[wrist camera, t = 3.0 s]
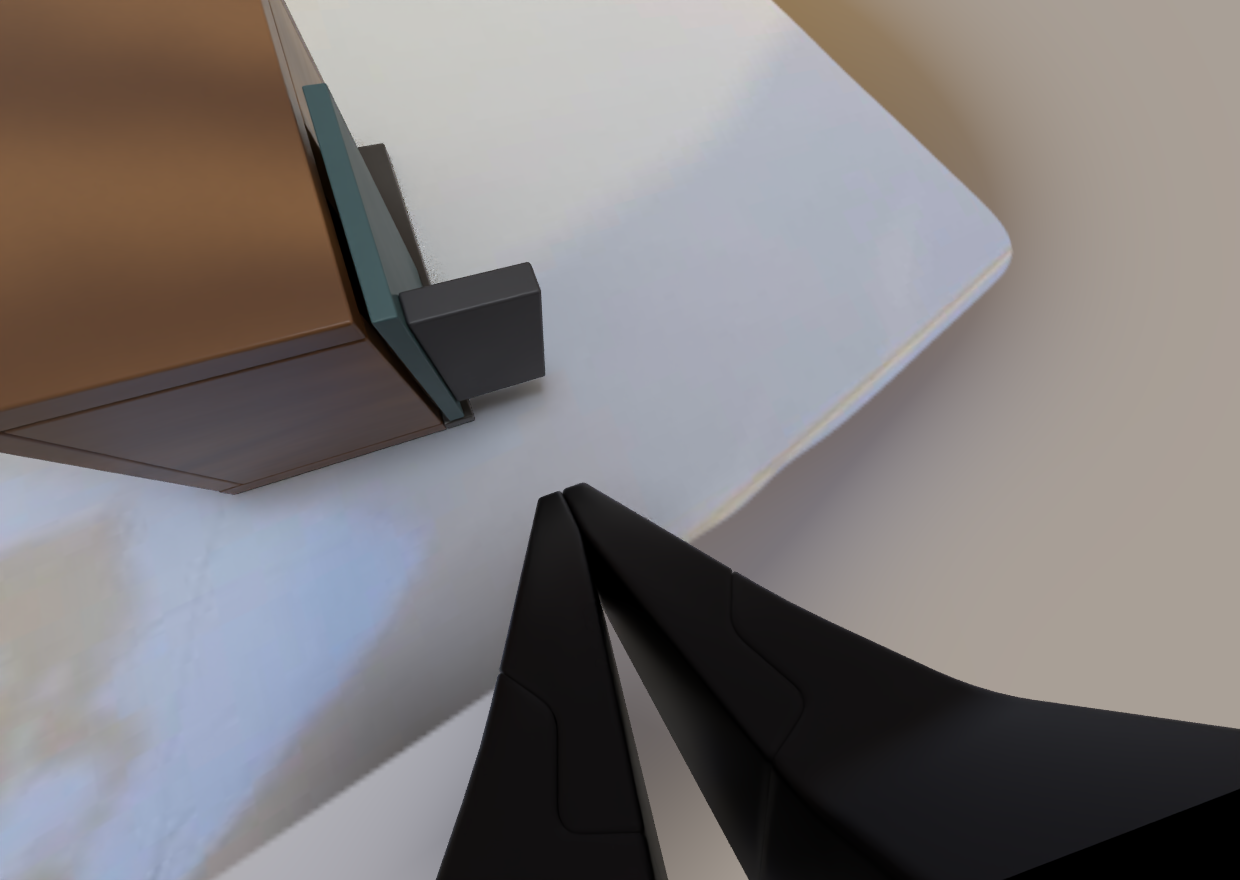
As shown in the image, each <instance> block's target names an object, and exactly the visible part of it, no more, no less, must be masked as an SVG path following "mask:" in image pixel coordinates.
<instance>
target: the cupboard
mask: <svg viewBox="0 0 1240 880" xmlns="http://www.w3.org/2000/svg"><path fill="white" fill-rule="evenodd" d="M320 83H324V81H323V78H322V76H321V74H320V72H319V70H318V68H317V66H316V64H315V62H314V60H313V58H312V56H311V54H310V52H309V50H308V48H307V46H306V44H305V42H304V40H303V38H302V36H301V34H300V32H299V30H298V28H297V25H296V23H295V21H294V19H293V17H292V15H291V13H290V11H289V9H288V7H287V5H286V3H285V1H284V0H0V453H6V454H12V455H17V456H23V457H28V458H34V459H40V460H45V461H51V462H57V463H62V464H68V465H73V466H79V467H85V468H90V469H96V470H101V471H107V472H113V473H118V474H124V475H130V476H135V477H141V478H146V479H152V480H158V481H163V482H169V483H175V484H180V485H186V486H191V487H197V488H203V489H208V490H214V491H219V492H222V493H228V494H237V493H241V492H244V491H247V490H250V489H254V488H257V487H260V486H263V485H267V484H270V483H273V482H276V481H279V480H283V479H286V478H289V477H292V476H296V475H299V474H302V473H305V472H309V471H312V470H315V469H318V468H322V467H325V466H328V465H331V464H334V463H338V462H341V461H344V460H347V459H351V458H354V457H357V456H360V455H364V454H367V453H370V452H373V451H377V450H380V449H383V448H386V447H390V446H393V445H396V444H399V443H402V442H406V441H409V440H412V439H415V438H419V437H422V436H425V435H428V434H432V433H435V432H438V431H441V430H445V429H446V428H450V427H454V426H457V425H460V424H463V423H467V422H470V421H473V420H475V417H474V414H473V411H472V408H471V405H470V402H469V399H466V400H462V401H460V404H461V407H462V410H463V413H464V417H462V418H458V419H455V420H452V421H450V420H449V419H448V418H447V417H446V415H445V414H444V413H443V412H442V410H441V409H440V408H439V407H438V405H437V404H436V403H435V402H434V400H433V399H432V398H431V397H430V395H429V394H428V393H427V392H426V390H425V389H424V388H423V387H422V385H421V384H420V383H419V382H418V380H417V379H416V378H415V377H414V375H413V374H412V373H411V372H410V370H409V369H408V368H407V367H406V365H405V364H404V363H403V362H402V360H401V359H400V358H399V357H398V355H397V354H396V353H395V352H394V350H393V349H392V348H391V347H390V345H389V344H388V343H387V342H386V340H385V339H384V338H383V337H382V335H381V334H380V333H379V332H378V330H377V329H376V328H375V327H374V326H373V324H372V323H371V320H370V317H369V313H368V310H367V307H366V303H365V300H364V296H363V293H362V290H361V286H360V283H359V279H358V276H357V273H356V269H355V266H354V262H353V259H352V256H351V252H350V249H349V246H348V242H347V239H346V235H345V232H344V229H343V225H342V222H341V218H340V215H339V212H338V208H337V205H336V202H335V198H334V195H333V191H332V188H331V185H330V181H329V178H328V174H327V171H326V168H325V164H324V161H323V157H322V154H321V151H320V147H319V144H318V141H317V137H316V134H315V130H314V127H313V124H312V120H311V117H310V113H309V110H308V107H307V103H306V100H305V96H304V93H303V90H302V86H305V85H313V84H320ZM358 150H359V152H360V154H361V156H362V158H363V160H364V162H365V164H366V166H367V168H368V170H369V172H370V174H371V176H372V178H373V180H374V182H375V185H376V187H377V189H378V191H379V193H380V195H381V197H382V199H383V201H384V203H385V205H386V207H387V209H388V211H389V213H390V215H391V217H392V219H393V221H394V223H395V225H396V228H397V230H398V232H399V234H400V236H401V238H402V240H403V242H404V244H405V246H406V248H407V250H408V252H409V254H410V256H411V258H412V260H413V262H414V264H415V266H416V269H417V271H418V274H419V277H420V280H421V283H422V286H423V287H425V286H429V285H431V283H430V280H429V277H428V274H427V271H426V268H425V265H424V262H423V259H422V256H421V253H420V250H419V246H418V243H417V240H416V237H415V234H414V231H413V228H412V225H411V222H410V219H409V216H408V213H407V210H406V207H405V204H404V201H403V198H402V195H401V192H400V189H399V185H398V182H397V179H396V176H395V173H394V170H393V167H392V164H391V161H390V158H389V155H388V152H387V150H386V147H385V145H384V144H383V143H381V144H375V145H369V146H363V147H358Z"/></svg>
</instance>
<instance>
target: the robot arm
mask: <svg viewBox="0 0 1240 880" xmlns="http://www.w3.org/2000/svg"><path fill="white" fill-rule="evenodd" d="M600 601H601V602H600ZM601 604H602V606H603V608H604V610H605V612H606V614H607V616H608V618H609V620H610V622H611V624H612V626H613V628H614V630H615V632H616V633H617V635H618V637H619V639H620V641H621V643H622V644H623V646H624V648H625V650H626V652H627V654H628V656H629V658H630V659H631V661H632V663H633V665H634V667H635V669H636V671H637V672H638V674H639V676H640V678H641V680H642V682H643V684H644V686H645V687H646V689H647V691H648V693H649V695H650V697H651V698H652V700H653V702H654V704H655V706H656V708H657V710H658V711H659V713H660V715H661V717H662V719H663V721H664V723H665V724H666V726H667V728H668V730H669V732H670V734H671V736H672V738H673V739H674V741H675V743H676V745H677V747H678V749H679V751H680V753H681V754H682V756H683V758H684V760H685V762H686V764H687V765H688V767H689V769H690V771H691V773H692V775H693V776H694V779H695V780H696V782H697V784H698V786H699V788H700V790H701V792H702V793H703V795H704V797H705V799H706V801H707V803H708V805H709V806H710V808H711V810H712V812H713V814H714V816H715V818H716V819H717V821H718V823H719V825H720V827H721V829H722V830H723V833H724V834H725V836H726V838H727V840H728V842H729V844H730V845H731V847H732V849H733V851H734V853H735V855H736V856H737V859H738V860H739V862H740V864H741V866H742V868H743V870H744V871H745V873H746V875H747V877H748V879H749V880H1240V729H1236V728H1228V727H1221V726H1214V725H1207V724H1200V723H1193V722H1186V721H1179V720H1172V719H1165V718H1158V717H1151V716H1143V715H1137V714H1130V713H1123V712H1116V711H1109V710H1101V709H1095V708H1087V707H1080V706H1073V705H1066V704H1059V703H1052V702H1045V701H1038V700H1031V699H1025V698H1019V697H1015V696H1010V695H1006V694H1002V693H997V692H994V691H990V690H987V689H984V688H980V687H977V686H974V685H971V684H968V683H965V682H963V681H960V680H957V679H954V678H952V677H950V676H947V675H945V674H942V673H940V672H938V671H935V670H933V669H931V668H929V667H927V666H925V665H922V664H920V663H918V662H916V661H914V660H912V659H909V658H907V657H905V656H903V655H901V654H899V653H896V652H894V651H892V650H890V649H888V648H886V647H884V646H881V645H879V644H877V643H875V642H873V641H871V640H868V639H866V638H864V637H862V636H860V635H857V634H855V633H853V632H851V631H849V630H847V629H844V628H842V627H840V626H838V625H836V624H834V623H831V622H829V621H827V620H825V619H823V618H821V617H819V616H817V615H815V614H813V613H811V612H809V611H807V610H805V609H803V608H801V607H799V606H797V605H795V604H793V603H791V602H789V601H787V600H785V599H783V598H781V597H780V596H778V595H776V594H774V593H773V592H771V591H769V590H767V589H765V588H763V587H762V586H760V585H758V584H756V583H755V582H753V581H751V580H750V579H748V578H746V577H744V576H742V575H741V574H739V573H738V572H733V573H732V570H731V568H729V567H727V566H725V565H724V564H722V563H720V562H719V561H717V560H715V559H714V558H712V557H710V556H708V555H707V554H705V553H703V552H702V551H700V550H698V549H697V548H695V547H693V546H691V545H690V544H688V543H686V542H685V541H683V540H681V539H680V538H678V537H676V536H675V535H673V534H671V533H670V532H668V531H666V530H664V529H663V528H661V527H659V526H658V525H656V524H654V523H653V522H651V521H649V520H647V519H646V518H644V517H642V516H641V515H639V514H637V513H636V512H634V511H632V510H630V509H629V508H627V507H625V506H624V505H622V504H620V503H619V502H617V501H615V500H614V499H612V498H610V497H608V496H607V495H605V494H603V493H602V492H600V491H598V490H597V489H595V488H593V487H591V486H590V485H588V484H586V483H580V484H577V485H574V486H571V487H568V488H566V489H564V490H563V493H562V492H560V491H557V492H554V493H551V494H549V495H546V496H543V497H541V498H539V500H538V503H537V507H536V512H535V516H534V520H533V525H532V529H531V533H530V538H529V542H528V547H527V551H526V555H525V560H524V564H523V568H522V573H521V577H520V582H519V586H518V590H517V595H516V599H515V603H514V608H513V612H512V616H511V621H510V625H509V630H508V634H507V638H506V643H505V647H504V651H503V656H502V660H501V665H500V674H499V675H498V677H497V681H496V685H495V690H494V694H493V698H492V703H491V707H490V711H489V715H488V719H487V722H486V726H485V730H484V733H483V737H482V741H481V745H480V749H479V752H478V755H477V758H476V761H475V764H474V768H473V771H472V774H471V777H470V780H469V783H468V787H467V790H466V793H465V796H464V799H463V803H462V805H461V808H460V811H459V814H458V817H457V820H456V823H455V826H454V828H453V832H452V834H451V837H450V840H449V843H448V846H447V849H446V852H445V855H444V858H443V860H442V863H441V867H440V869H439V872H438V875H437V878H436V880H668V878H667V874H666V870H665V866H664V861H663V857H662V853H661V849H660V845H659V841H658V836H657V832H656V828H655V824H654V820H653V816H652V812H651V807H650V804H649V799H648V795H647V791H646V787H645V783H644V778H643V774H642V770H641V766H640V762H639V757H638V753H637V749H636V745H635V741H634V737H633V733H632V728H631V724H630V720H629V716H628V712H627V708H626V704H625V699H624V696H623V691H622V687H621V683H620V679H619V674H618V671H617V666H616V662H615V658H614V654H613V650H612V646H611V641H610V637H609V633H608V629H607V625H606V621H605V617H604V613H603V610H602V606H601Z"/></svg>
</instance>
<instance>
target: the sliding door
mask: <svg viewBox="0 0 1240 880" xmlns="http://www.w3.org/2000/svg"><path fill="white" fill-rule="evenodd" d="M302 90H303V93H304V96H305V100H306V103H307V107H308V110H309V113H310V117H311V120H312V124H313V127H314V130H315V134H316V137H317V141H318V144H319V147H320V151H321V154H322V157H323V161H324V164H325V168H326V171H327V174H328V178H329V181H330V185H331V188H332V191H333V195H334V198H335V202H336V205H337V208H338V212H339V215H340V218H341V222H342V225H343V229H344V232H345V235H346V239H347V242H348V246H349V249H350V252H351V256H352V259H353V262H354V266H355V269H356V273H357V276H358V279H359V283H360V286H361V290H362V293H363V296H364V300H365V303H366V307H367V310H368V313H369V317H370V320H371V323H372V324H373V326H374V327H375V328H376V329H377V330H378V332H379V333H380V334H381V335H382V337H383V338H384V339H385V340H386V342H387V343H388V344H389V345H390V347H391V348H392V349H393V350H394V352H395V353H396V354H397V355H398V357H399V358H400V359H401V360H402V362H403V363H404V364H405V365H406V367H407V368H408V369H409V370H410V372H411V373H412V374H413V375H414V377H415V378H416V379H417V380H418V382H419V383H420V384H421V385H422V387H423V388H424V389H425V390H426V392H427V393H428V394H429V395H430V397H431V398H432V399H433V400H434V402H435V403H436V404H437V405H438V407H439V408H440V409H441V410H442V412H443V413H444V414H445V415H446V417H447V418H448V419H449V420H450V421H452V420H455V419H458V418H462V417H464V413H463V410H462V407H461V404H460V401H462V400H466V399H469V398H472V397H476V396H479V395H482V394H486V393H489V392H493V391H496V390H499V389H503V388H506V387H509V386H513V385H516V384H519V383H523V382H526V381H530V380H533V379H536V378H540V377H543V376H545V361H544V341H543V322H542V303H541V290H540V287H539V284H538V282H537V279H536V276H535V274H534V271H533V268H532V266H531V264H530V263H529V262H525V263H521V264H517V265H513V266H509V267H505V268H500V269H496V270H492V271H488V272H484V273H479V274H475V275H471V276H467V277H463V278H458V279H454V280H450V281H446V282H442V283H437V284H433V285H429V286H425V287H423V286H422V283H421V280H420V277H419V274H418V271H417V269H416V266H415V264H414V262H413V260H412V258H411V256H410V254H409V252H408V250H407V248H406V246H405V244H404V242H403V240H402V238H401V236H400V234H399V232H398V230H397V228H396V225H395V223H394V221H393V219H392V217H391V215H390V213H389V211H388V209H387V207H386V205H385V203H384V201H383V199H382V197H381V195H380V193H379V191H378V189H377V187H376V185H375V182H374V180H373V178H372V176H371V174H370V172H369V170H368V168H367V166H366V164H365V162H364V160H363V158H362V156H361V154H360V152H359V150H358V148H357V146H356V144H355V141H354V139H353V137H352V135H351V133H350V131H349V129H348V127H347V125H346V123H345V121H344V119H343V117H342V115H341V113H340V111H339V109H338V107H337V105H336V103H335V100H334V98H333V96H332V94H331V92H330V90H329V88H328V86H327V85H326V84H325V83H320V84H313V85H305V86H302Z"/></svg>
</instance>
